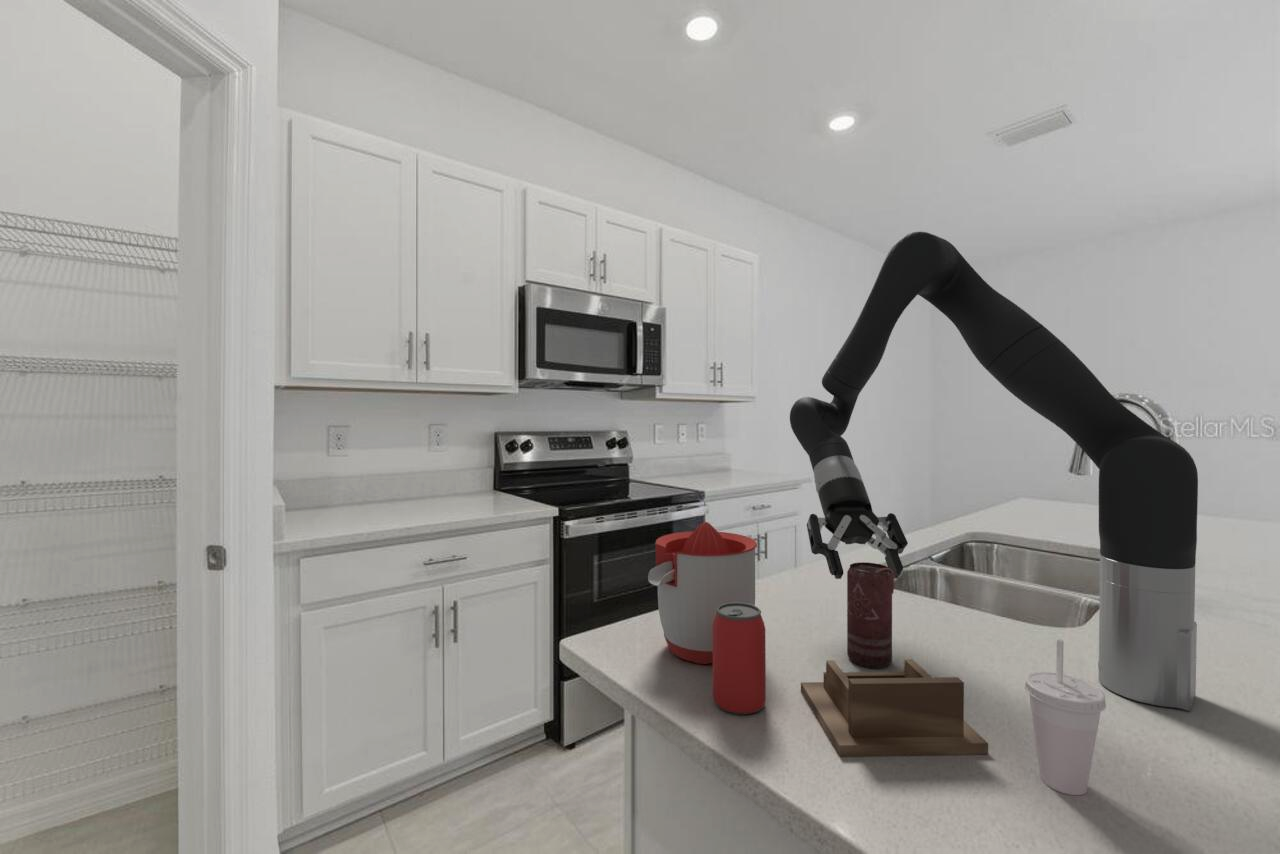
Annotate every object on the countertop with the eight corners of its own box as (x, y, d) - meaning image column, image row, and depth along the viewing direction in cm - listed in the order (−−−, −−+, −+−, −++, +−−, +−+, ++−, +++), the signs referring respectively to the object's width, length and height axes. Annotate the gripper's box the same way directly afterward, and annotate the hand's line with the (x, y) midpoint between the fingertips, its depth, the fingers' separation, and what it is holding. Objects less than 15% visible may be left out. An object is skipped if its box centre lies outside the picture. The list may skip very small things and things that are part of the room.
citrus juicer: (629, 643, 90) (627, 519, 90) (718, 623, 98) (717, 509, 98) (679, 685, 76) (678, 538, 76) (779, 658, 84) (778, 525, 84)
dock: (800, 691, 74) (800, 637, 74) (921, 689, 74) (921, 635, 74) (839, 756, 60) (839, 690, 60) (988, 754, 60) (988, 687, 60)
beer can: (702, 703, 71) (701, 609, 71) (733, 685, 76) (732, 597, 76) (745, 723, 67) (745, 623, 66) (775, 703, 71) (775, 609, 71)
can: (898, 671, 80) (898, 573, 79) (851, 667, 81) (851, 571, 81) (888, 653, 86) (888, 562, 85) (844, 650, 87) (844, 560, 86)
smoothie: (1068, 761, 59) (1070, 629, 59) (1123, 804, 53) (1125, 656, 52) (1009, 763, 59) (1010, 630, 58) (1056, 806, 52) (1058, 657, 52)
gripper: (803, 475, 92) (826, 563, 81) (889, 474, 92) (925, 562, 81) (794, 502, 98) (815, 589, 86) (875, 501, 98) (907, 587, 86)
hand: (868, 576), depth 84 cm, fingers open, 8 cm apart
